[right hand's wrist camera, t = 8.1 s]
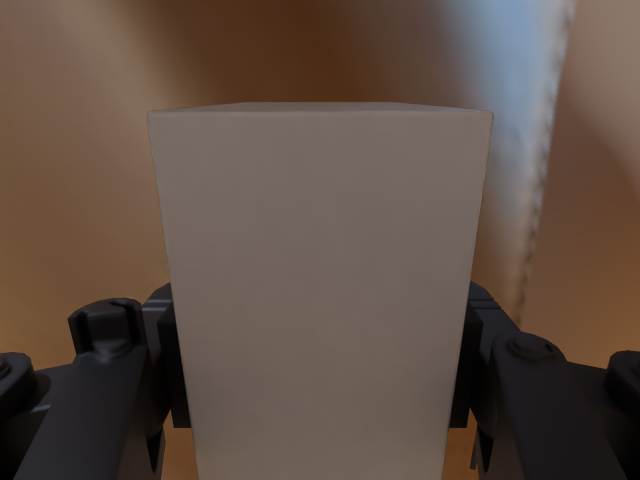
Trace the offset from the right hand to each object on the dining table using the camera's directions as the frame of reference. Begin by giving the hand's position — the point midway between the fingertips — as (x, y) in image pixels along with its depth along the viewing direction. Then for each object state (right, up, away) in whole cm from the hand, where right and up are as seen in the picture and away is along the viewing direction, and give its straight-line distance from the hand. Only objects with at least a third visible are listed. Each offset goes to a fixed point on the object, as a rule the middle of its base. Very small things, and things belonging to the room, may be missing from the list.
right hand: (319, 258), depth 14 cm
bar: (0, -21, +8) cm, 23 cm away
